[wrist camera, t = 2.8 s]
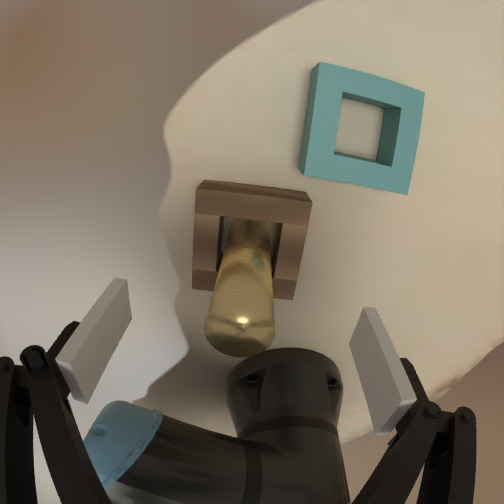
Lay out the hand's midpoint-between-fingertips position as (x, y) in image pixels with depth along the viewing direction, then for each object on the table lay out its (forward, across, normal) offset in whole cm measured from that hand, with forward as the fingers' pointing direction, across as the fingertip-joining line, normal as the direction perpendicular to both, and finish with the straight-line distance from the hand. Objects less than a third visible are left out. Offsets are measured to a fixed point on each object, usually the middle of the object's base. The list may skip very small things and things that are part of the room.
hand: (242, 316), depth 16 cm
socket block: (+13, -8, -11) cm, 19 cm away
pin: (+13, 0, 0) cm, 13 cm away
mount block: (+13, 0, 0) cm, 13 cm away
